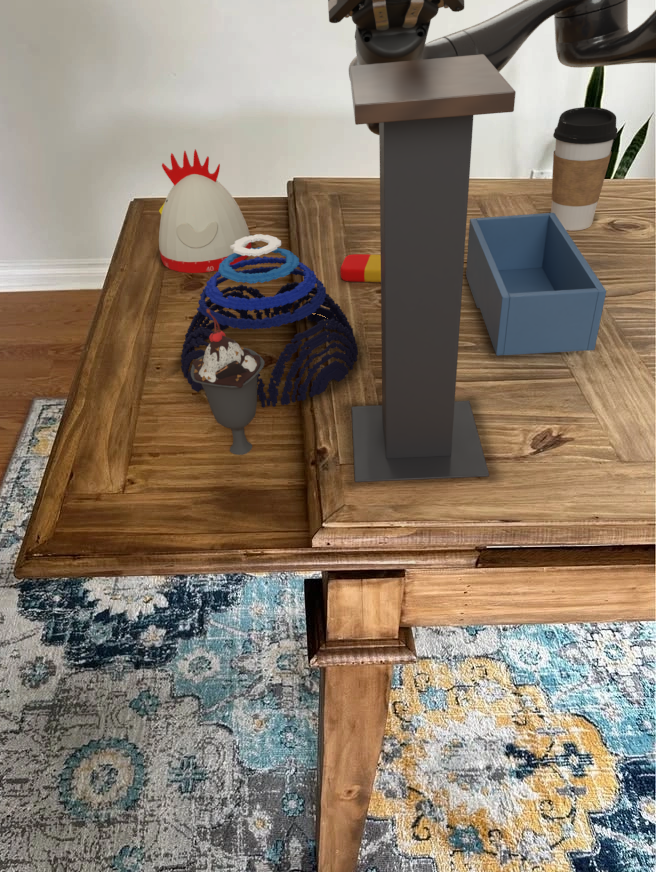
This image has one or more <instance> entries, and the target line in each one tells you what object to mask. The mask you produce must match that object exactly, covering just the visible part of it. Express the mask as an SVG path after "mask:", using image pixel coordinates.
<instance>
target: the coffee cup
mask: <svg viewBox="0 0 656 872" xmlns="http://www.w3.org/2000/svg"><path fill="white" fill-rule="evenodd" d="M618 130H619V129H618V128H617V116H616V114H615V113H614V112H613V111H611V110H610V109H607V108H604V107H595V106H594V107H593V106H581V107H574V108H570V109H567V110H565V111H563V112H562V113H560V115H559V118H558V122H557V126H556V127H555V128H554V131H553V135H552V136H553V138H554V139H555V145H554V147H555V148H554V150H553V153H552V154H553V159H552V181H551V182H552V183H551V184H552V185H551V207H550V208H551V209H550V213H555V215H556V216H557V218H558V219H559V221H560V222H561V224H562V225H563V227H564V228H565V230H566V231H567V232H568V231H571V232H573V231H574V232H575V231H583V230H586V229H589V228H590V227H592V225H593V222H594V219H595V214H596V210H597V206H598V203H599V199H600V196H601V193H602V189H603V186H604V182H605V178H606V174H607V171H608V167H609V163H610V160H611V156H612V151H611V150H612V147H613V144H614V140H615V139H616V138H617V137H618Z"/></svg>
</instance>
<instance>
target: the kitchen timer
mask: <svg viewBox="0 0 656 872" xmlns="http://www.w3.org/2000/svg"><path fill="white" fill-rule="evenodd" d="M182 158H183V159H182V167H181V166H180V165H179V163H178V161H177V159H176V157H175V155H174V154H173V152H171V153H170V164H171V169H170V168H169V167H168V166H167V165H166V164H165V163H164V162H162V163H161V167H162V169H163V171H164V173H165V175H166V176H167V177H168V179H169V181H170V182H171V183H172V184H173V186H172V187H171V189H170V190H169V192H168V194H167V196H166V198H165V201H164V202H163V204H162V206H160V208H159V209H158V212H159V214H160V221H159V232H158V248H159V255H160V259H161V262H162V264H163V266H164V267H166V268H167V269H169V270H171V271H175V272H179V273H188V274H202V273H204V274H205V273H210V272H218V271H219V270H218V269H219V265H220V263H222V261H224V259H225V258H227V257H228V256H229V255H231V254H233V253H234V252H233V250H234V249H231V247H230V246H231V245H233V244H234V243H235V241H236V240H239V239H241V238H243V237H245V236H246V237H248V236H251V233H250V229H249V225H247V221H246V219H245V217H244V214H243V212H242V210H241V208H240V206H239V204H238V202H237V201H236V199H235V198H234V197H233V195H232V194H231V193H230V191H229V190H228V189H227V188H226V187H225V186H224V185H223V184H222V183H221V182H219V180H218V177H219V173H220V168H221V163H218V165H217V167H216V168H215V171H214V172H212V173H211V172H210V171H209V170H210V169H209V166H210V165H209V163H210V157H209V156H206V158H205V161H204V163H203V165H202V164H201V161H200V157H199V153H198V151H197V149H196V148H195V149H194V151H193V164H192V165H191V163H190V160H189V157H188V154H187V151H186V150H183V157H182ZM243 247H244V248H247V249H250V248H253V247H252V242H249V243H247V244H245V246H243ZM248 257H249V256H247V255H245V256H241V257H238V258H236V259H234V261H233V262H231V263H230V264H231V265H233V264H235V263H237V262H240V261H242V260H244V261H245V260H247V259H248ZM230 264H229V265H230Z"/></svg>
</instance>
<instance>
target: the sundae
mask: <svg viewBox="0 0 656 872" xmlns="http://www.w3.org/2000/svg"><path fill="white" fill-rule="evenodd" d="M206 311H207V313H208V314H209V315H210V316H211V317H212V318H213V320H214V326H215V329H214V333H212V334H211V335H210V336H209V338H208V340H209V341H210V342H209V343H210V344H209V345H208V346H206V348H205V350H204V351H205V355H204V356H201V357H199V358H198V359H195V360H194V359H193V360H192V362H191V363H192V364H191V368H190V370H191V377H192V379H193V381H195V382H197V383H201V384H202V386H203V388H204V390H203V391H204V394H205V396H206V399H207V402H208V405H209V408H210V411H211V412H212V415H213V418H214V420H215V421H216V423H217V424H219V425H221V426H222V427H224V428H226V429H229V430H231V434H232V444H231V446H230V447H229V452H230V453H231V454H233V455H237V456H244V455H247V454H248V453H250V452H251V450H252V448H253V444H252V443H250V442H249V441H248V439H247V437H246V432H245V427H247V426H248V425H249V424H250V423H251V422H252V421H253V419H254V418H255V417H256V414H257V405H258V395H257V389H258V382H257V378H259V377H258V373H259V374H260V372H261V371H262V370H263V369H264V367H265V360H264V359H263V357H262V356H261V355H260V354H259V353H257V352H256V351H254V350H253V349H250V348H249V347H243V346H240V344H239V343H238V342H237V341H236V342H235V339H232V338H230V337H227V336H226V333H225V332H224V330H223V331H222V330H220V327H219V324H218V322H217V320H216V319H215V318H214V317H213V316H212V315H211V313H210V309H206ZM216 324H217V327H218V328H216Z"/></svg>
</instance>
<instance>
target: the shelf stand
mask: <svg viewBox="0 0 656 872" xmlns="http://www.w3.org/2000/svg"><path fill="white" fill-rule="evenodd" d="M350 79H351V82H350V91H351V97H352V98H351V99H352V107H353V117H354V125H357V126H358V125H366V124H371V123H379V135H378V136H379V140H378V141H379V143H378V144H379V225H380V226H379V227H380V235H379V236H380V238H379V239H380V243H379V244H380V255H381V282H380V328H381V329H380V331H381V332H380V334H381V335H380V336H381V338H380V339H381V404H376V405H358V406H356V405H355V406H354V405H353V406H351V407H350V409H351V430H352V431H351V433H352V452H353V453H352V454H353V471H354V472H353V473H354V475H353V477H354V482H355V483H373V482H392V481H394V482H396V481H397V482H399V481H415V480H416V481H418V480H419V481H420V480H421V481H422V480H442V479H444V480H445V479H464V478H466V479H467V478H468V479H469V478H489V477H490V472H489V468H488V464H487V460H486V457H485V453H484V450H483V446H482V443H481V438H480V434H479V431H478V427H477V423H476V420H475V416H474V412H473V409H472V405H471V401H470V400H456V389H457V388H456V387H457V373H458V359H459V357H458V356H459V355H458V354H459V342H460V326H461V325H460V324H461V314H462V313H461V312H462V311H461V310H462V299H463V298H462V297H463V296H462V295H463V284H464V283H463V282H464V281H463V279H464V268H465V266H464V265H465V251H466V250H465V249H466V238H467V237H466V236H467V235H466V234H467V220H468V219H467V218H468V207H469V206H468V205H469V191H470V189H469V188H470V176H471V175H470V173H471V159H472V146H473V145H472V143H473V130H474V129H473V128H474V116H478V115H479V116H480V115H490V114H491V115H492V114H503V113H504V114H505V113H514V111H515V102H516V90H515V89H514V87H512V86H511V84H510V83H509V82H508V81H507V80H506V78H505V77H504V76H503V75H502V74H501V72H498V71H497V69H496V68H495V67H494V66H493V65H492V64H491V62H490V61H489V60H488V59H487V58H486V56H485V55H484V54H481V55H470V56H458V57H447V58H436V59H424V60H413V61H402V62H390V63H379V64H367V65H356V66H350V78H349V80H350Z"/></svg>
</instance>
